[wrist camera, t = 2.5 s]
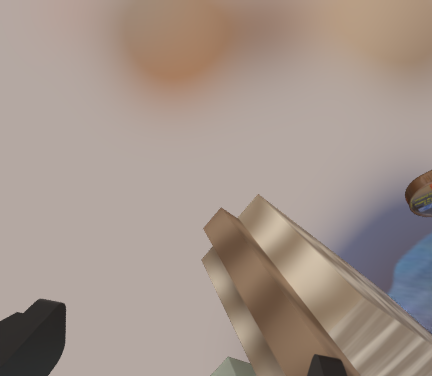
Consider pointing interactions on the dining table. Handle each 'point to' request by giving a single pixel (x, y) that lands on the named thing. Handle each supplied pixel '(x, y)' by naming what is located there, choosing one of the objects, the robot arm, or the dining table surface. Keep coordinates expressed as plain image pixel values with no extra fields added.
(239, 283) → the walnut bar
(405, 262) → the dining table surface
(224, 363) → the green plinth
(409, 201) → the tin
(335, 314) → the stand
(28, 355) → the robot arm
